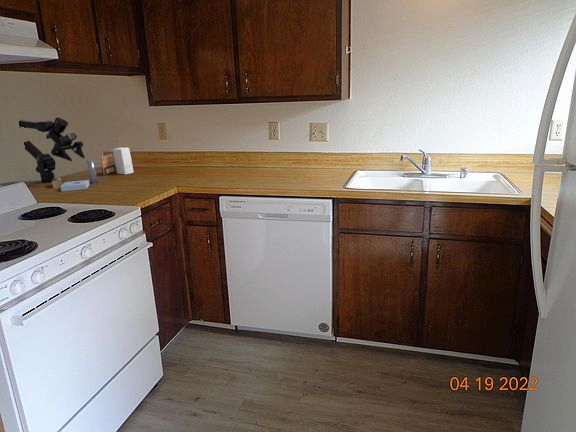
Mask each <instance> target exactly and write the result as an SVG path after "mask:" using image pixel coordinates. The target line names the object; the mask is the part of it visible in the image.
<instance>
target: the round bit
mask: <svg viewBox="0 0 576 432" xmlns="http://www.w3.org/2000/svg"><path fill="white" fill-rule="evenodd" d="M86 164H87V169H88V175H89V183H90V184H92V185H95V184H98V182H99V181H98V177H97V171H96V163H95V160H94V159H91V160H90V159H88V160H86Z"/></svg>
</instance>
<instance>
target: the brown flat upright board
mask: <svg viewBox="0 0 576 432" xmlns="http://www.w3.org/2000/svg"><path fill="white" fill-rule="evenodd" d="M100 159H101V171H102V176H103V177H107V176H110V175H113V173H114V174H117V169H116V164H115V159H114V155H113V153H109V154H107V155H106V154H105V155H102V156H101V158H100Z"/></svg>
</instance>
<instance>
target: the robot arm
mask: <svg viewBox="0 0 576 432" xmlns="http://www.w3.org/2000/svg"><path fill="white" fill-rule="evenodd" d="M19 120H20V121H19V126H20V127H24V128H26V129H32V130H33V129H35V130H37V131H38V132H42V133H47V134H45V135H46V137H45V138H46V140H51V141H52V142H53V143H54V144H53V147H52V149H51V150H50V153H51V154H50V153H43V152H42V151H41V150H40V149H39V148H37V146H35V144H33V143H32V142H31V141H30V140H29V141H27V142H24V145H25V151H26V152H28V154H30V155H31V156H32V157H33V158H34V159H35V162H36V165H37V166H36V167H35V171H36V172H37V173H38V174H39V175H40V183H41V184H43V183H45V184H46V183H52V178H56V174H55V172H54V171H55V170H56V164H57V162H56V160H55V159H54V157H56V158H61V159H63V160H67V161H69V162H72V161H73V159H72V158H71V156H70V154H68V153H67V152H66V151H70V150H71V151H73V152H74V154H76V155H77V156H79V158H80V157H81V158H82V159H85V158H86V157H85V154H84V152H83V150H82V148H83V146H84V143H83V141H74V140H76V139H77V138H78V136H77V134H76V133H75V132H71V133H67V134H66V135H63V133H65V131H66V130H67V127H68V126H69V123H68V121H67V120H66V119H62V118H61V117H59V116H57V117H55V119H54V121H53V120H45V121H36V120H28V119H27V120H25V119H19ZM20 127H19V128H20ZM51 155H52V156H51Z"/></svg>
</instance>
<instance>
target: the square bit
mask: <svg viewBox="0 0 576 432" xmlns="http://www.w3.org/2000/svg"><path fill="white" fill-rule="evenodd" d="M61 179H62V178H61V177H55V178H52V182H51V184H52V188H53V189H56V188H57V189H58V188H61V186H62V185H63V183H62V180H61Z"/></svg>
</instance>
